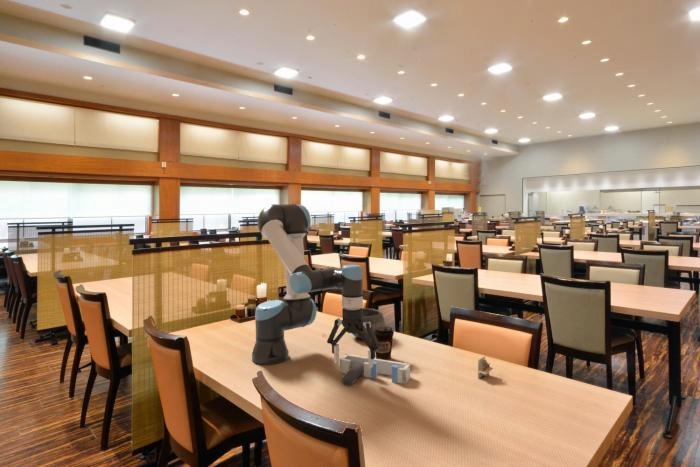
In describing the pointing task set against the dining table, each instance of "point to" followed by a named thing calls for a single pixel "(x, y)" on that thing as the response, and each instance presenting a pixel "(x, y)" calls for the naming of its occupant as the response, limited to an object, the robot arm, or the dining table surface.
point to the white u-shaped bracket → (377, 368)
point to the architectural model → (483, 367)
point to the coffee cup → (384, 342)
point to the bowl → (372, 319)
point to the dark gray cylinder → (353, 374)
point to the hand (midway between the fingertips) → (353, 365)
